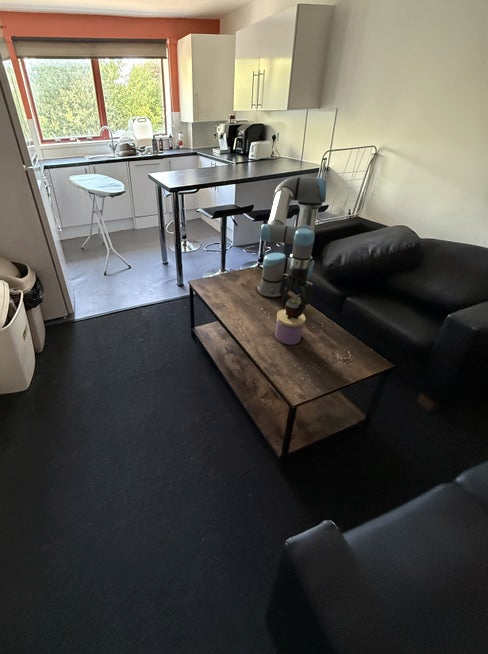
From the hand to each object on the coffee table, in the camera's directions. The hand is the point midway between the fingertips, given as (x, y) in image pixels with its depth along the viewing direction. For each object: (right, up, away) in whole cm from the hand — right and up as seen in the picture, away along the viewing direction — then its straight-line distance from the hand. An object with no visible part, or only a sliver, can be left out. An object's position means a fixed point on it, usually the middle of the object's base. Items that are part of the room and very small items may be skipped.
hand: (291, 311), depth 144 cm
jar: (0, -12, +7) cm, 14 cm away
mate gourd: (0, -3, +1) cm, 3 cm away
